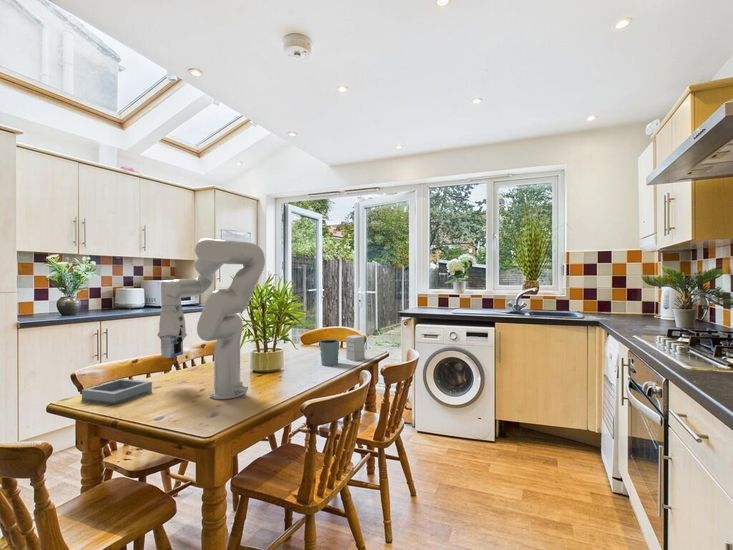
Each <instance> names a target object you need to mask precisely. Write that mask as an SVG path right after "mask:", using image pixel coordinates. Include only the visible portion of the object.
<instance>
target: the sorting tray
mask: <svg viewBox="0 0 733 550" xmlns="http://www.w3.org/2000/svg"><path fill="white" fill-rule="evenodd" d="M152 384H153V382H152V381H145V380H136V379H127V378H119V379H116V380H112V381H108V382H105V383H100V384H97V385H93V386H91V387H87V388H84V389H81V401H82V402H88V401H89V403H96V404H104V405H111V406H116V405H118V404H122V403H125V402H127V401H129V400H133V399H135V398H139V397H141V396H145V395H148V394H150V393H152V392H153V390H152V389H153V388H152V387H153V385H152Z"/></svg>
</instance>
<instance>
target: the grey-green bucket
mask: <svg viewBox="0 0 733 550" xmlns="http://www.w3.org/2000/svg"><path fill="white" fill-rule="evenodd" d="M339 349H340V340H339V339H321V340H320V341H319V350H320V351H319V352H320V359H321V360H320V361H321V363H320V364H321V366H323V365H324V367H334V366H333V365H335V366H338V365H339V353H340V352H339ZM337 364H338V365H337Z"/></svg>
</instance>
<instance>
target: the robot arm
mask: <svg viewBox="0 0 733 550" xmlns="http://www.w3.org/2000/svg"><path fill="white" fill-rule="evenodd" d="M194 251H195V252H194V253H195V256H196V257H197V258H196V259H195V261H194V264H193V266H194V268H195V270H196V272H197V273H198V274H199V275H198V276H197V277H196V278H179V279H177V278H176V279H166V280H162V281H161V283H160V301H161V302H160V303H161V304H160V305H161V307H160V309H161V310H160V311H161V312H160V315H159V323H158V325H159V327H158V332H157V337H158V338H159V339H160V340H161V337H165V336H173V337H174V340H175V343H176V344H174V353H180V352H181V343H182V341H183V342H184V340H185V339H186V338H187V336H188V334H187V333H186V332H187V331H186V329H187V328H186V320H185V316H184V311H183V306H182V298H188V297H189V298H190V297H198V296H201V295H203V294H204V293H205V292H206V291H207V290H208V289H209V288H211V286H213V285H212V284H213V282H214V277H215V276H214V274H215V273H216V272H218V270H219V269H220V268H221V267H222V266H223V265H225V264H226V265H242V266H241V268H240V269H239V270H238V271H237V272H236V273H235V275H234V276H233V279H232V282H231V283H230V286H229V287H228V288H220V289H216V290H213V291H212V292H210V294H209V295H208V296H207V298H206V301H205V303H204V306H203V308H202V311H201V313H200V315H199V319H198V322H197V325H196V331H197V332H196V334H197V335H198V337H199V338H200V339H201V340H202V341H205V342H212V341H216V342H215V344H214V350H213V384H214V385H213V390H211V392H209V397H210V398H212V399H214V400H231V399H235V398H238V397H242V395H244V394H246V393H247V392H248V390H249V386H247V385H243V381H241V339H242V334H243V327H244V323H243V319H242V318H241V316H240V315H239V314H240V313H243V312H244V311H245V310H246V309H247V308H248V305H249V304H250V300H251V299H252V296H253V294H254V291H255V289H256V285H257V284H258V281H259V280H260V277H261V275H262V274H263V271H264V269H265V265H266V258H265V254H264V250H263V249H262V248H261V247H260V246H259V245H258V244H255V243H253V242H248V241H247V242H246V241H238V240H228V239H224V238H223V239H221V238H212V237H204V238H201V239H200V240H199V241H198V242H197V243H196V245H195V249H194ZM181 335H182V336H181ZM177 337H178V338H177Z"/></svg>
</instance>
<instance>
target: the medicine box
mask: <svg viewBox="0 0 733 550" xmlns="http://www.w3.org/2000/svg"><path fill="white" fill-rule="evenodd" d="M181 336H182V335H181ZM177 338H178V337H177ZM174 344H176V343H175V340H174V337H173V336H165V337H161V339H160V345H161V348H160V349H161V351H160V353H161V358H163V359H167V358H168V359H173V358H176V357H179V356H183V355H184V340H183V341H182V343H181V352H180V353H174Z"/></svg>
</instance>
